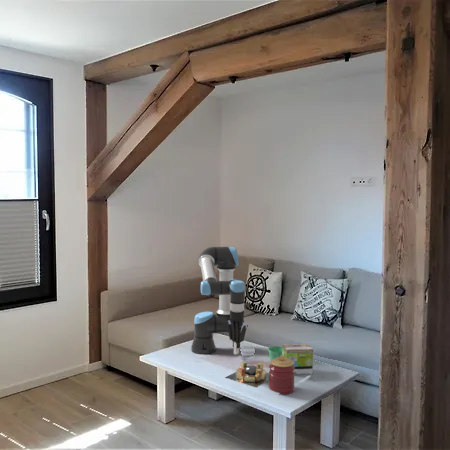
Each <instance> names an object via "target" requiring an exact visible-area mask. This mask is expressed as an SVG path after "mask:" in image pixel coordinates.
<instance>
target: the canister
mask: <svg viewBox="0 0 450 450" xmlns="http://www.w3.org/2000/svg"><path fill="white" fill-rule="evenodd" d="M268 368H269V371H268V373H269V380H268V388H269V390H270V391H272V392H275V393H278V394H279V395H289V394H291V393H294V390H295V375H296V374H295V373H294V369H295V366H294V365H293V361H291V360H290V359H288V358H285V357H284V356H283V355H281V356H280V357H277V358H275V359H273V360H272V361H271V360H270V364H269V365H268Z"/></svg>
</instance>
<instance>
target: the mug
mask: <svg viewBox="0 0 450 450" xmlns="http://www.w3.org/2000/svg"><path fill="white" fill-rule="evenodd" d="M268 355H269V361H270V362H271V361H272V360H273V359H275V358H277V357H280V356H281V355H282V346H276V345H275V346H270V347H268Z"/></svg>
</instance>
